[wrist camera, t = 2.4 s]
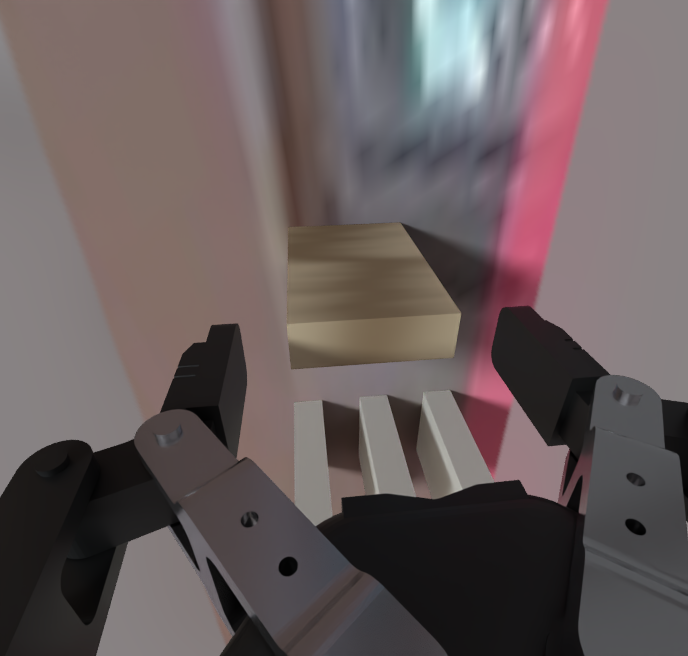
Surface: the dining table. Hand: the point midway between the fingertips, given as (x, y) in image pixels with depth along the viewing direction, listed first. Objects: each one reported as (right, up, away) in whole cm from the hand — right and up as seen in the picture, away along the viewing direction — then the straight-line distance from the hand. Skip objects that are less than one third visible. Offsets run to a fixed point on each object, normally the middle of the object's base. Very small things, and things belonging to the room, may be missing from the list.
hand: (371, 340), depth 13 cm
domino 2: (-1, +4, +6) cm, 8 cm away
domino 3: (+1, -6, +13) cm, 14 cm away
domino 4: (+5, -5, +13) cm, 15 cm away
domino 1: (-3, -6, +12) cm, 14 cm away
